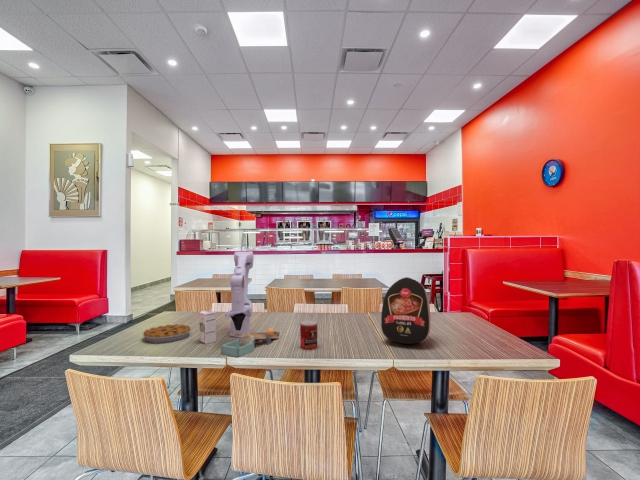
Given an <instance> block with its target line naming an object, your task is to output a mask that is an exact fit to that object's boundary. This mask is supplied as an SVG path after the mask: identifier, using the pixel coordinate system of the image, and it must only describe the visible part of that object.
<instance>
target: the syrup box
mask: <svg viewBox="0 0 640 480" xmlns="http://www.w3.org/2000/svg"><path fill="white" fill-rule="evenodd" d="M216 316H217V315H216V311H214V310H210V309H209V310H208V309H207V310H202V311H199V342H200V343H203V344H204V345H207V344H211V343H215V342H217V330H216V329H217V328H216V327H217V324H216Z"/></svg>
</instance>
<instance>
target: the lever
mask: <svg viewBox="0 0 640 480" xmlns="http://www.w3.org/2000/svg"><path fill="white" fill-rule="evenodd" d="M232 335H236V336H241V337H244V338H247V339H253V340H254V339H266V337H267V336H271V339H280V336H281V335H280V332H279V331H275V330H274V334H267V331H266V332H264V331H263V332H250V333H245V335H243V334H238V333H232Z"/></svg>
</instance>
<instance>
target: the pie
mask: <svg viewBox="0 0 640 480" xmlns="http://www.w3.org/2000/svg"><path fill="white" fill-rule="evenodd" d="M191 331H192V329H191V326H189V325H185V324H178V323H177V324H176V323H175V324H166V325H158V326H157V327H150V328H149V329H145V330H144V331H143V334H142V335H143V337H144V339H146V341H147V342H148V341H149V343H151V342H152V343H153V344H164V343H171V342H176V341H180V340H184V339H186V338H188V336H189V334H190V332H191Z"/></svg>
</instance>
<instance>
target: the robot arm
mask: <svg viewBox="0 0 640 480" xmlns="http://www.w3.org/2000/svg"><path fill="white" fill-rule="evenodd" d="M233 261H234V265H235V267H234V270H233V274H232V276H230V280H229V284H230V291H231V310H229V311H226V312H224V318H226V319H227V318H231V320H230V333H229V336H230V337H234V338H235V337H236V338H241V339H244V338H245V337H241V336H236V335H232V333H238V334H243V335H245V333H251V331H250V330H251V329H250V324H251V323H250V318H251V317H252V316H253V303H252V300H250V299H248V288H249V287H248V285H249V274H250V270H251V269H252V268H253V266H254V251H252V250H250V251H238V250H237V251H234V253H233Z"/></svg>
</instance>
